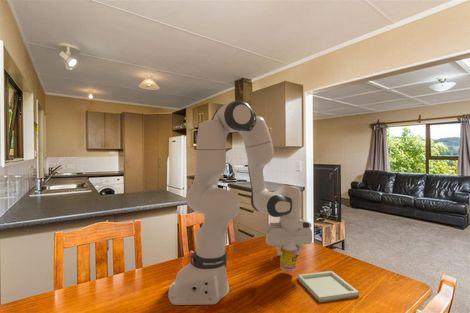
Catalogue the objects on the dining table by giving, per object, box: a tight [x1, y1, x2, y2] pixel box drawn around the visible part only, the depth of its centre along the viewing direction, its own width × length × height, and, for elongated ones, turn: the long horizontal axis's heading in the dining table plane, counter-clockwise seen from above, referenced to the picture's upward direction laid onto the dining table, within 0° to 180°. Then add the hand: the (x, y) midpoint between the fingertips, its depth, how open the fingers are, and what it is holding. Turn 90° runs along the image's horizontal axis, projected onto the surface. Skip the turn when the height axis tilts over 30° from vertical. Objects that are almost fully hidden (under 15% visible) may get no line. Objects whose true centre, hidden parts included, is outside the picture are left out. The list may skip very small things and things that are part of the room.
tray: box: [297, 270, 360, 303], centre depth 95 cm, size 16×16×2 cm
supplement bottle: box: [279, 240, 298, 272], centre depth 105 cm, size 7×7×13 cm
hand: (288, 254), depth 105 cm, fingers closed on supplement bottle, 7 cm apart
